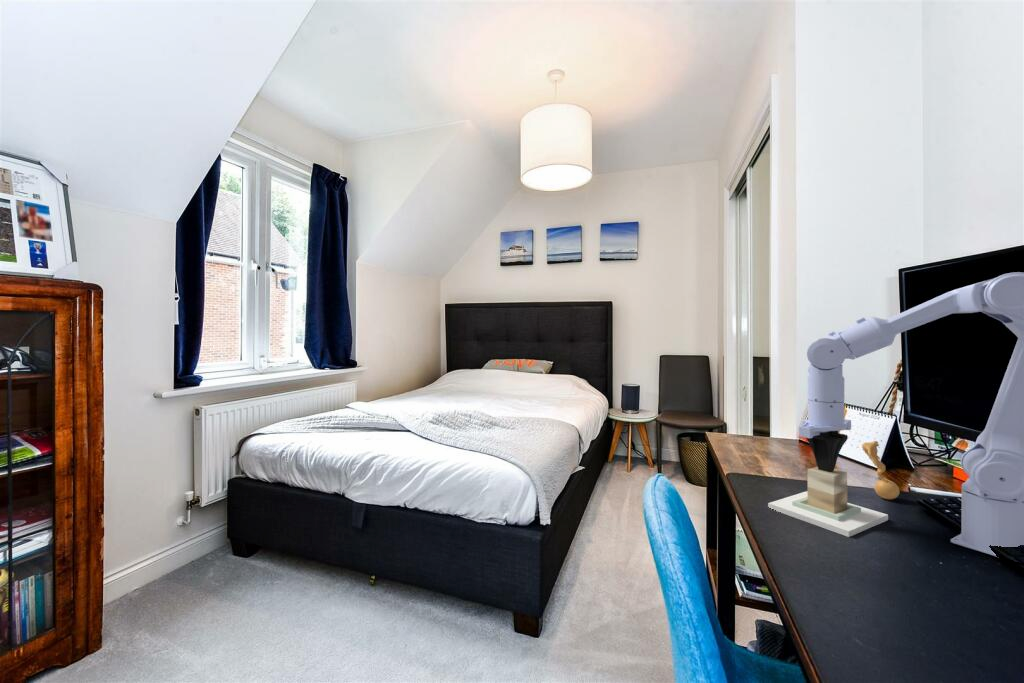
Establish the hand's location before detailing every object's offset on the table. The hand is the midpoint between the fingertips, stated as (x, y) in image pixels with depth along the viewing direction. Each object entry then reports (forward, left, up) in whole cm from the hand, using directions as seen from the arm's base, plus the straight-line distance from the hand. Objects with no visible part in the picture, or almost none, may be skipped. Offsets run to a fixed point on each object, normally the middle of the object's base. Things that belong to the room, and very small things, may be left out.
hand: (825, 470), depth 83 cm
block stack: (0, 0, -8) cm, 8 cm away
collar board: (0, 0, -8) cm, 8 cm away
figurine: (-19, +1, -9) cm, 21 cm away
